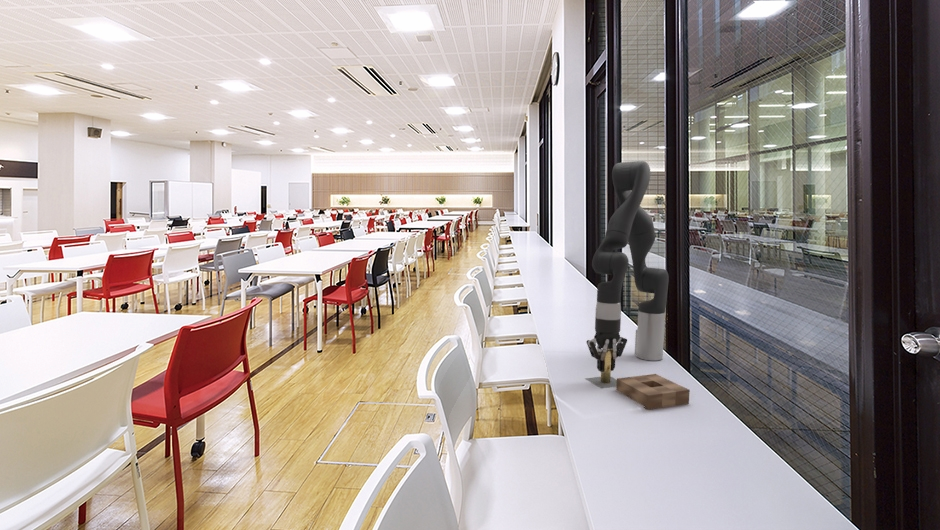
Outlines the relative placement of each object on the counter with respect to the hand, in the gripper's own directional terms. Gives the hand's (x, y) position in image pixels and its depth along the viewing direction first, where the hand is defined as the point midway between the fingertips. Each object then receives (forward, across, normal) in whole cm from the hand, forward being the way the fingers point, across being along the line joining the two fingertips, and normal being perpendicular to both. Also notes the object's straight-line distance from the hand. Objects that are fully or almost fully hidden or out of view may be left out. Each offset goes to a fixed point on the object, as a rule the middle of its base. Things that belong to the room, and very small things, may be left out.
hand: (605, 370), depth 151 cm
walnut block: (+4, -6, +14) cm, 16 cm away
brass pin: (+4, 0, 0) cm, 4 cm away
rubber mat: (+4, 0, 0) cm, 4 cm away
